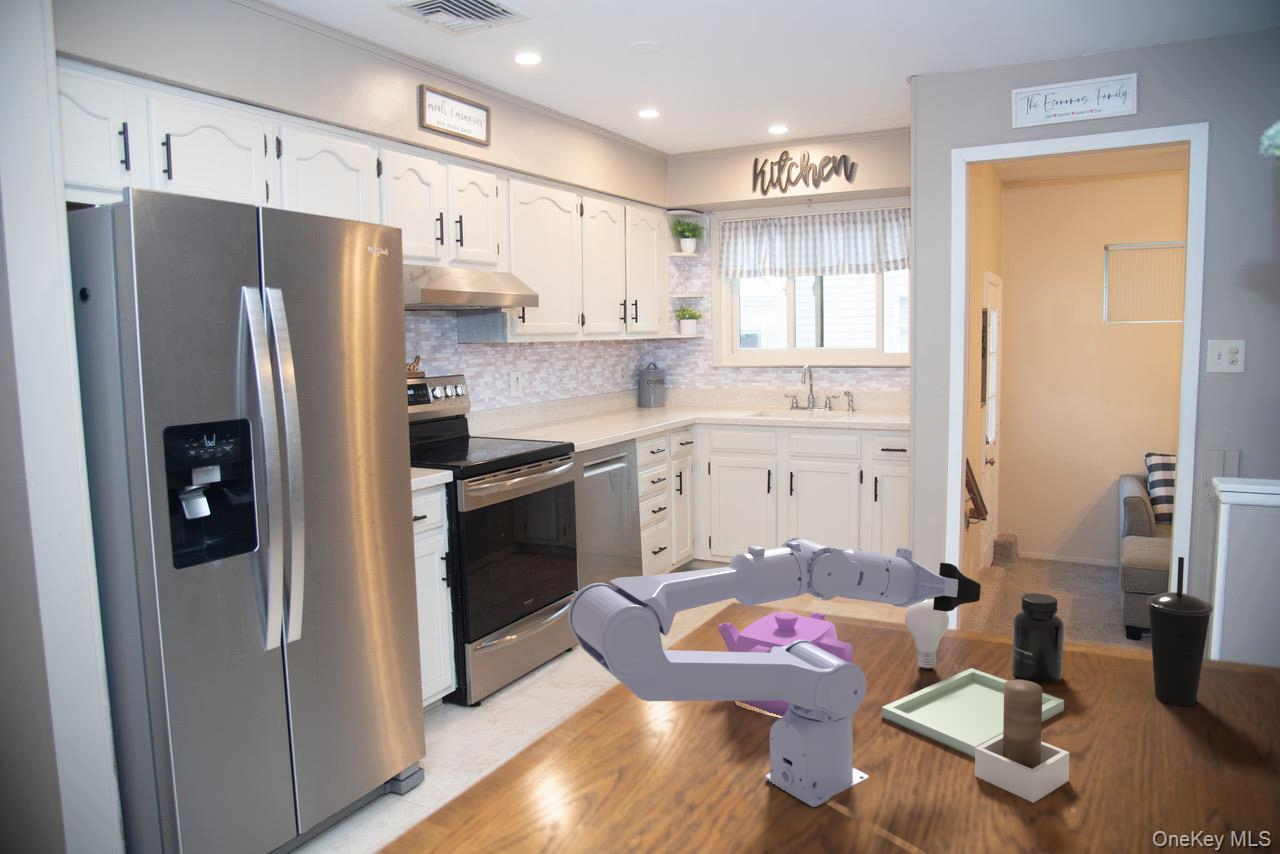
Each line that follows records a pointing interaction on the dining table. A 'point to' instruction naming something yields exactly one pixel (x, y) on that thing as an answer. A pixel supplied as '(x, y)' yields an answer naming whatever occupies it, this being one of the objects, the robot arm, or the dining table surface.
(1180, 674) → the drinking cup
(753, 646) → the teakettle
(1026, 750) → the walnut dowel
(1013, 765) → the square cup
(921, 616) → the lightbulb
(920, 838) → the dining table surface
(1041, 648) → the supplement bottle
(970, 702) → the tray
